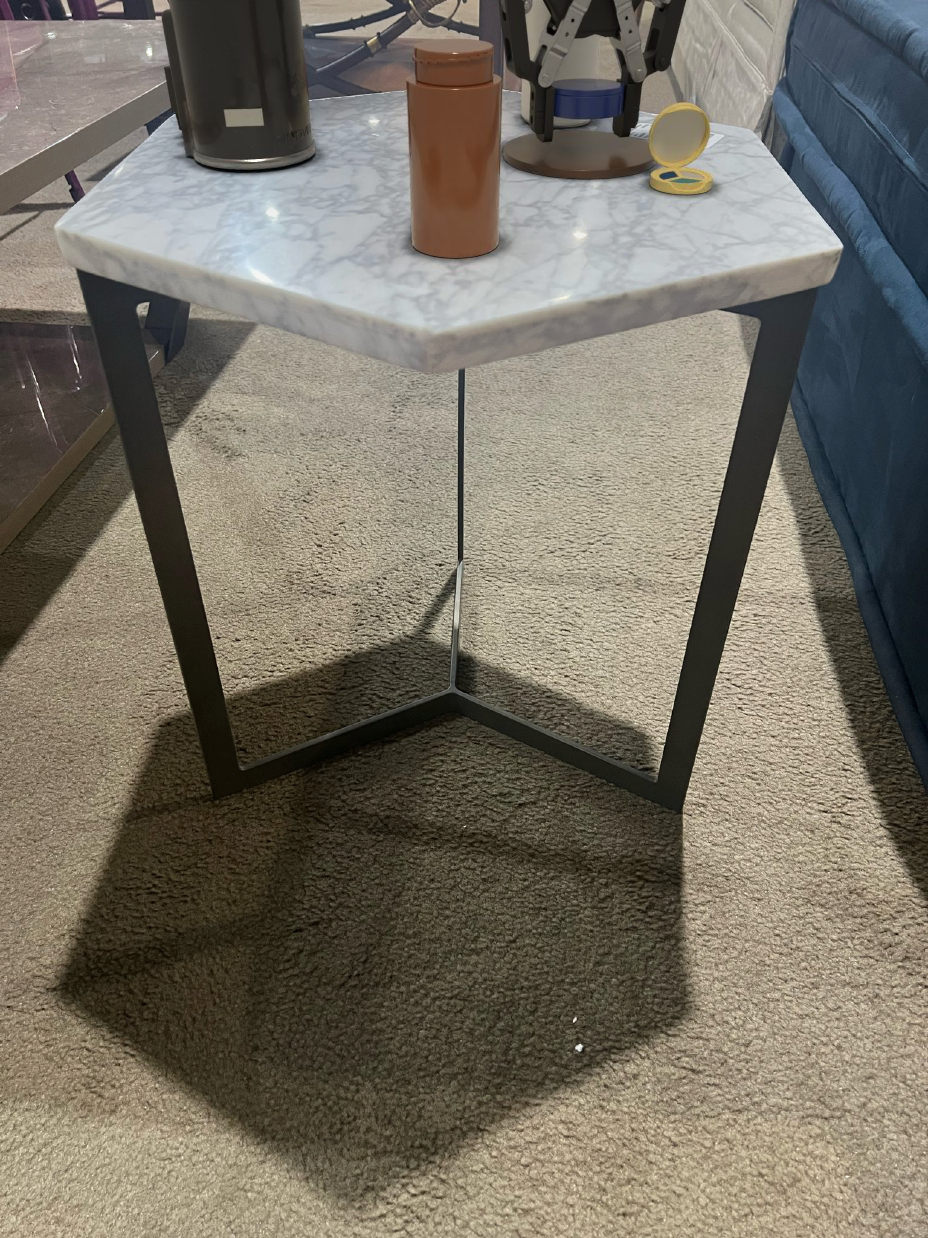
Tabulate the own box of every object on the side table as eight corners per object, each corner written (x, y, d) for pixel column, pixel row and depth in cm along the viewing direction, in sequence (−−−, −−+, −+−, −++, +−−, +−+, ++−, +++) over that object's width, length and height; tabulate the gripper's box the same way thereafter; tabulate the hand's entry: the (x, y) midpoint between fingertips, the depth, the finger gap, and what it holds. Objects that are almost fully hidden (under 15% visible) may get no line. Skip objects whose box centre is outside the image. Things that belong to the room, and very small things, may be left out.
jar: (395, 247, 57) (385, 47, 50) (441, 223, 60) (438, 33, 54) (470, 264, 55) (471, 57, 48) (514, 237, 58) (520, 42, 51)
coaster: (475, 163, 71) (475, 155, 71) (546, 130, 79) (546, 122, 79) (618, 187, 66) (619, 178, 66) (679, 149, 74) (680, 141, 74)
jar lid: (636, 109, 71) (638, 81, 70) (601, 122, 67) (604, 92, 66) (569, 103, 74) (570, 76, 72) (533, 114, 70) (533, 86, 69)
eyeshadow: (657, 194, 65) (667, 116, 62) (641, 174, 69) (650, 100, 66) (718, 193, 65) (731, 115, 62) (699, 173, 69) (711, 99, 66)
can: (508, 123, 81) (513, -45, 73) (538, 108, 85) (546, -52, 78) (576, 131, 79) (589, -41, 71) (604, 115, 83) (619, -49, 75)
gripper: (513, -143, 57) (506, 156, 68) (729, -145, 59) (689, 143, 70) (483, -145, 62) (481, 131, 73) (681, -147, 65) (651, 120, 76)
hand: (583, 136), depth 72 cm, fingers closed on jar lid, 5 cm apart
